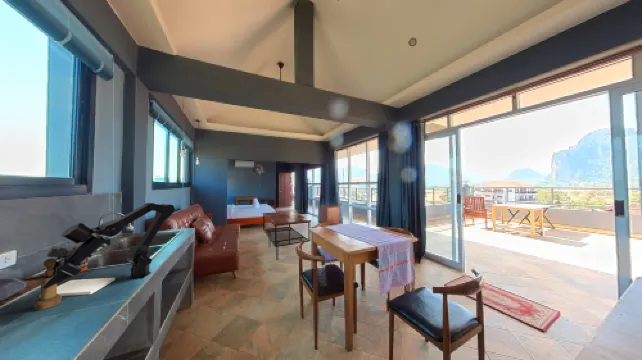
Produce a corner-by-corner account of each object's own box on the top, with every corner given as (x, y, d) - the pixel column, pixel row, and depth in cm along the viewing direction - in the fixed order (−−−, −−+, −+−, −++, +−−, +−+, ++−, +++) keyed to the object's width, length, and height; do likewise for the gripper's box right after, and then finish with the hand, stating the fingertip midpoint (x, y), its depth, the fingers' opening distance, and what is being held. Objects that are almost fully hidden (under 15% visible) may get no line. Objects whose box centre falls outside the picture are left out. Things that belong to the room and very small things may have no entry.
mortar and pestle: (65, 302, 83) (66, 257, 83) (38, 311, 77) (40, 263, 77) (56, 298, 85) (58, 255, 85) (30, 307, 79) (32, 260, 79)
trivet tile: (114, 280, 102) (114, 277, 102) (90, 294, 89) (90, 291, 89) (71, 282, 98) (71, 280, 98) (39, 297, 86) (39, 294, 86)
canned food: (75, 275, 106) (76, 253, 106) (60, 274, 106) (61, 253, 107) (92, 268, 114) (92, 248, 114) (78, 268, 114) (78, 248, 114)
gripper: (64, 234, 90) (18, 268, 81) (69, 242, 79) (16, 282, 70) (90, 248, 96) (50, 280, 87) (98, 257, 85) (53, 295, 76)
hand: (43, 284), depth 80 cm, fingers open, 9 cm apart
